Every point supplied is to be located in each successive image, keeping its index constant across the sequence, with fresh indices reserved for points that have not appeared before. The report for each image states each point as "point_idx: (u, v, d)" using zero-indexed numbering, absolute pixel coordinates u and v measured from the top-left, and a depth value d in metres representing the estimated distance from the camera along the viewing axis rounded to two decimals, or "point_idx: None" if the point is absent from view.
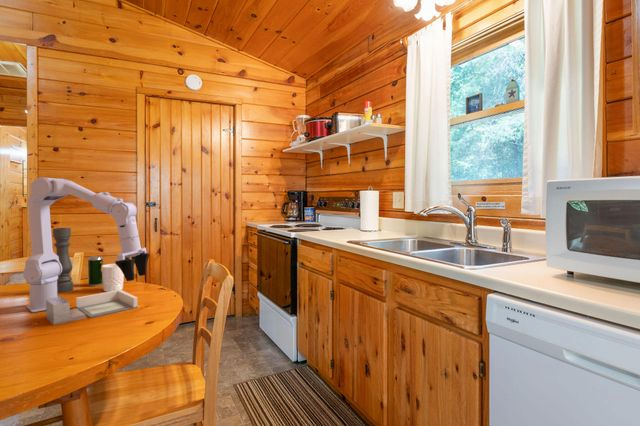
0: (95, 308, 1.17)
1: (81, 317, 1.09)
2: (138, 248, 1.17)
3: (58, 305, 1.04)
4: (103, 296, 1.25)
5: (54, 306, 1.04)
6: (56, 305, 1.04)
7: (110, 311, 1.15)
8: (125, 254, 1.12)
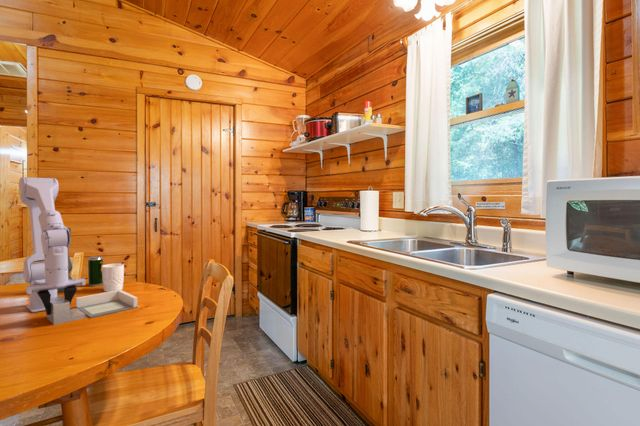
0: (95, 308, 1.17)
1: (81, 317, 1.09)
2: (56, 282, 1.05)
3: (58, 305, 1.04)
4: (103, 296, 1.25)
5: (54, 306, 1.04)
6: (56, 305, 1.04)
7: (110, 311, 1.15)
8: (33, 288, 1.03)
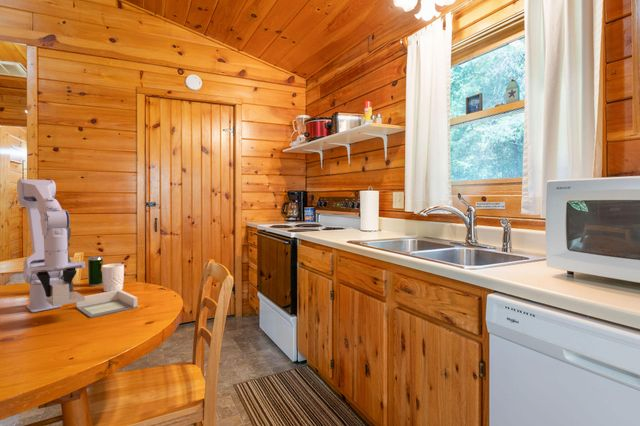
0: (95, 308, 1.17)
1: (81, 299, 1.09)
2: (56, 264, 1.05)
3: (57, 286, 1.04)
4: (103, 296, 1.25)
5: (53, 287, 1.03)
6: (55, 286, 1.04)
7: (110, 311, 1.15)
8: (33, 269, 1.02)
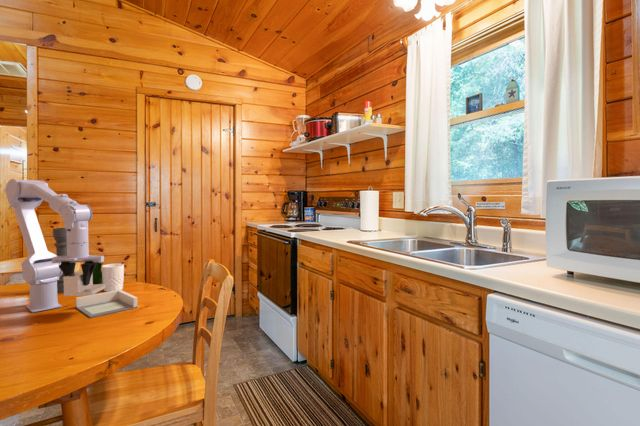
0: (95, 308, 1.17)
1: (88, 293, 1.09)
2: (71, 256, 1.10)
3: (67, 277, 1.08)
4: (103, 296, 1.25)
5: (64, 278, 1.08)
6: (66, 277, 1.08)
7: (110, 311, 1.15)
8: (56, 258, 1.11)
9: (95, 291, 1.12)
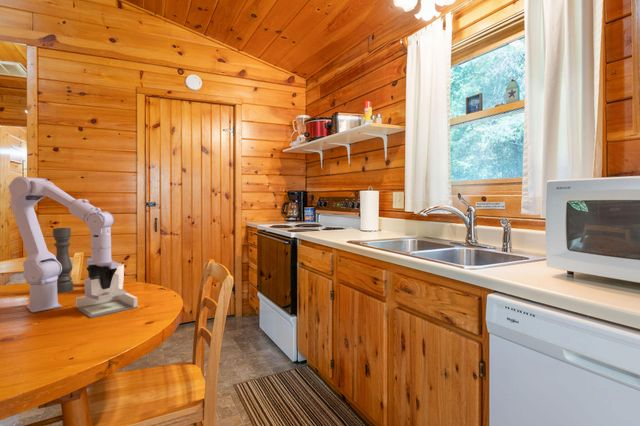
0: (95, 308, 1.17)
1: (96, 298, 1.13)
2: (91, 260, 1.17)
3: (86, 280, 1.16)
4: None
5: None
6: (85, 279, 1.16)
7: (110, 311, 1.15)
8: (88, 260, 1.21)
9: (105, 296, 1.15)
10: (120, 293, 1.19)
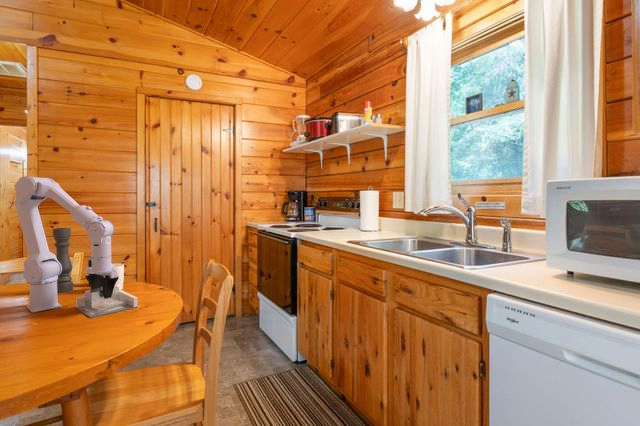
0: None
1: (96, 311, 1.13)
2: (92, 269, 1.17)
3: (86, 292, 1.16)
4: None
5: (85, 292, 1.16)
6: (86, 292, 1.16)
7: (110, 311, 1.15)
8: (88, 269, 1.21)
9: (105, 309, 1.15)
10: (120, 305, 1.19)
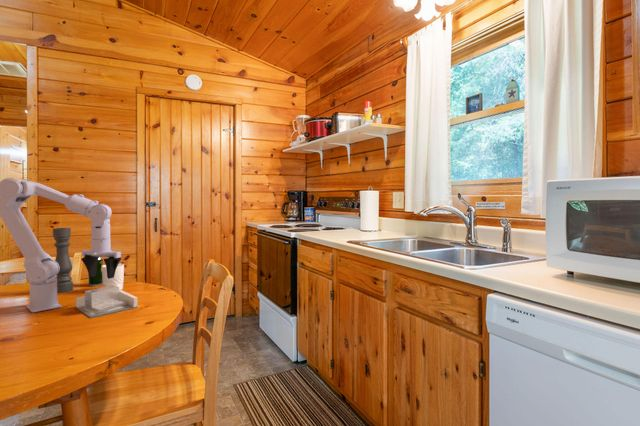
0: None
1: (96, 311, 1.13)
2: (93, 250, 1.21)
3: (86, 292, 1.16)
4: None
5: (85, 292, 1.16)
6: (86, 292, 1.16)
7: (110, 311, 1.15)
8: (84, 252, 1.24)
9: (105, 309, 1.15)
10: (120, 305, 1.19)
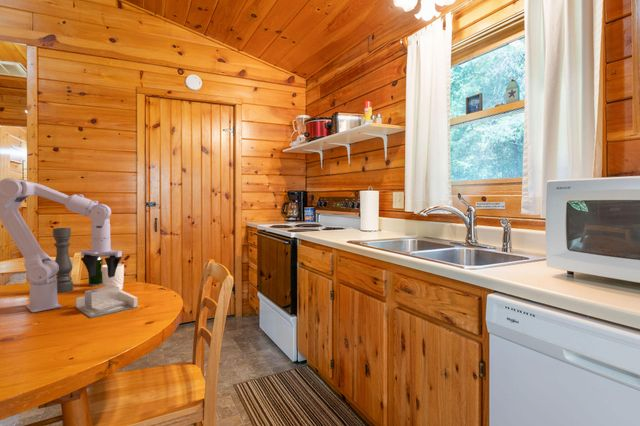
0: None
1: (96, 311, 1.13)
2: (93, 250, 1.22)
3: (86, 292, 1.16)
4: None
5: (85, 292, 1.16)
6: (86, 292, 1.16)
7: (110, 311, 1.15)
8: (84, 251, 1.24)
9: (105, 309, 1.15)
10: (120, 305, 1.19)
